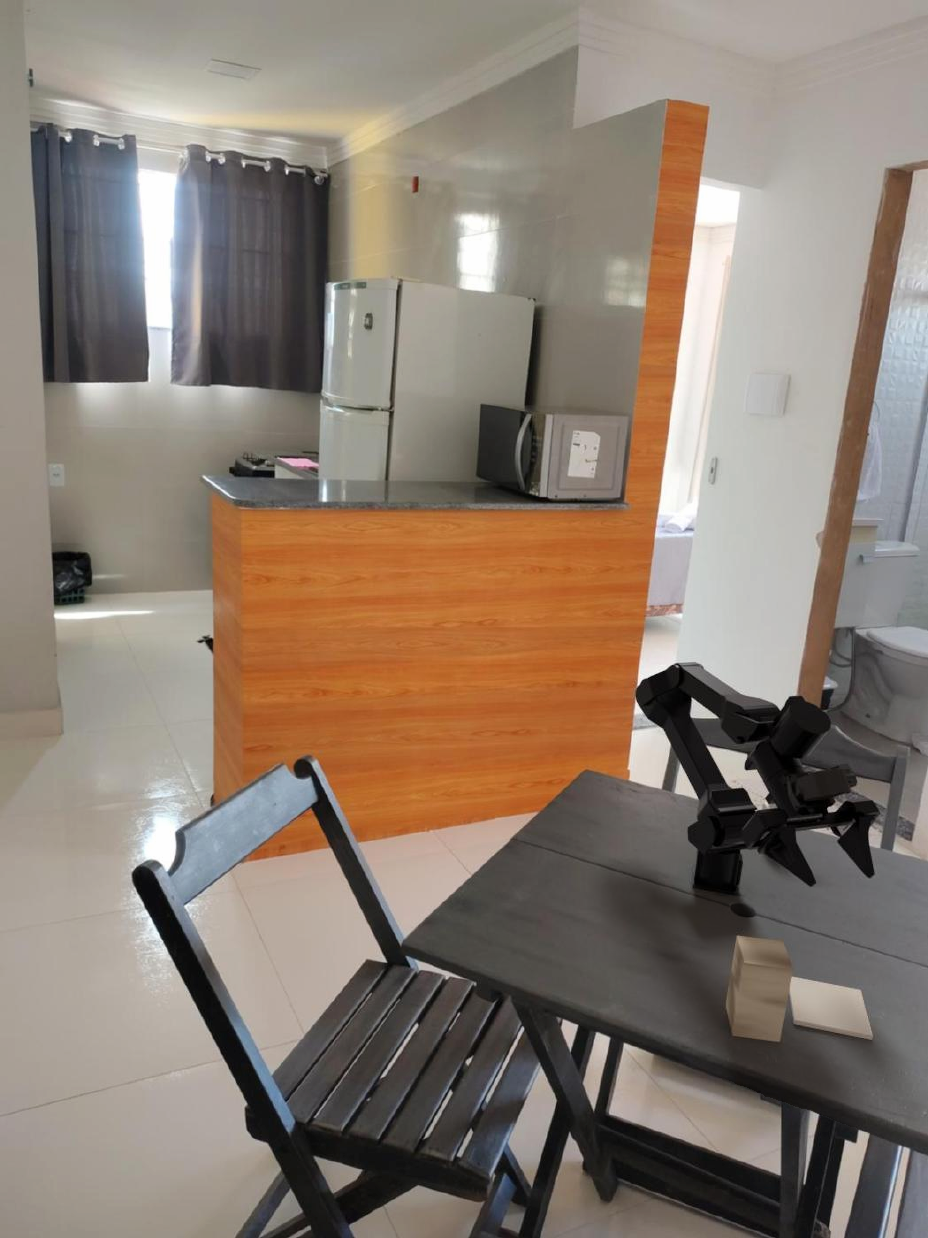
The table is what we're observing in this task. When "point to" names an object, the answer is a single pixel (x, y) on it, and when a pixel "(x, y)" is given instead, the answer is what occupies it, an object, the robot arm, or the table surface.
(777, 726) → the robot arm
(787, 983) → the brass block
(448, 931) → the table surface
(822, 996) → the cream tile
